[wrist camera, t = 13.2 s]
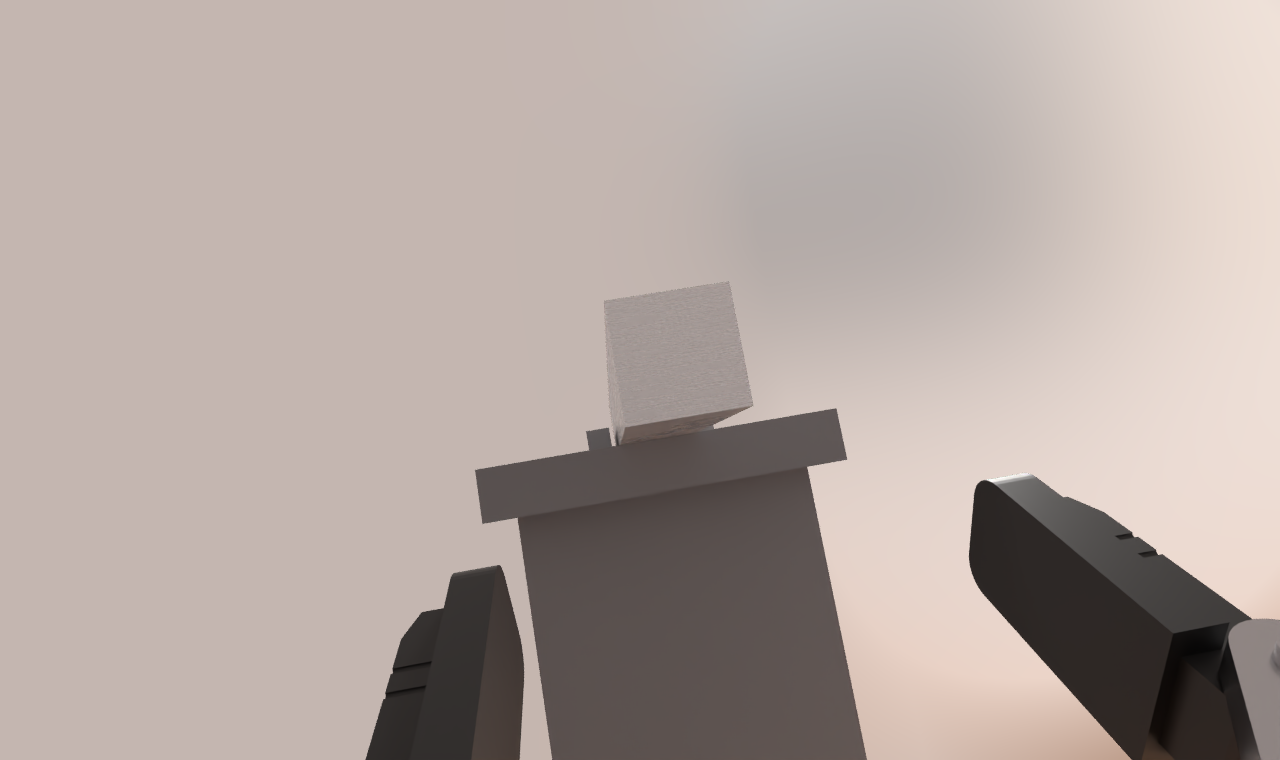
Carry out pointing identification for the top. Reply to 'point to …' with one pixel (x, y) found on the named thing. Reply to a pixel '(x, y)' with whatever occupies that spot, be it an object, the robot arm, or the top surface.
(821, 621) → the stand
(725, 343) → the steel bar
